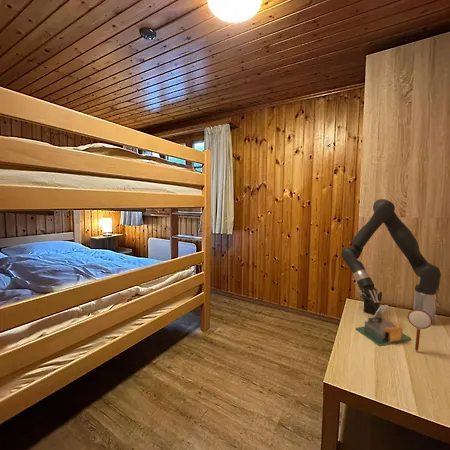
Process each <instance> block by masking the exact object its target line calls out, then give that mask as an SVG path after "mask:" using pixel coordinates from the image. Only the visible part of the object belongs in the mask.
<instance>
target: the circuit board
mask: <svg viewBox="0 0 450 450" xmlns="http://www.w3.org/2000/svg"><path fill="white" fill-rule="evenodd" d="M372 318H373V317H369V316H368V318H367V319H368V320H366V321H364V326H359V327H358V326H357V327H355V330H356V331H357V332H358V333H360V334H361V335H363V336H364V337H365V338H367V339H369V341H371V342H373V343H374V344H375V345H377V346H379V347H382V346H386V345H388V346H389V345H392V344H399V343H403V342H409V341H412V338H411V337H410V336H408V335H406V334H405V333H403V330H404V329H403V327H402V326H401V325H400V326H399V325H395V324H394V323H392V322H390V321H388V320H387V319H385V318H383V317H382V315H381V316H380V318H379V319H378V320H373V319H372Z"/></svg>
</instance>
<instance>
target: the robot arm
mask: <svg viewBox="0 0 450 450" xmlns="http://www.w3.org/2000/svg"><path fill="white" fill-rule="evenodd" d="M395 209H396V207H395V205H394V203H393V202H392V201H390V200H388V199H386V198H385V199H384V198H380V199H377V200H376V201H374V203H373V206H372V210H373V214H372V216H371V217H370V219H369V220H368V221H367V222H366V223H365V225H364V226H362V227H361V228H360V229H359V230H358V231H357V233H355V236H354V237H353V238H352V240H351V244H352V246H351V247H343V248H342V249H341V252H340V253H341V255H340V256H341V258H342V260H343V261H344V262H345V264H346V265H347V266H348V267H349V269H350V270H351V273H352V274H353V278H354V280H355V282H356V284H357V285H358V288H359V290H360V291H361V294H360V295H359V297H360V298H361V299H362V300H363V301H364V300H365V301H366V302H367V303H369V304H372V305H373V306H374V308H375V310H376V312H377V310H378V309H379V307H380V306H381V304H380V302H382V299H383V298H382V297H383V292H382V291H378V290H377V288H376V287H375V283H374V282H373V279H372V278H371V276H370V274H369V273H368V271H367V269H366V268H365V266H364V264H363V262H362V261H360V260H358V259H359V258H360V257H361V255H362V252H363V250H364V247H365V246H366V245H367V243H368V242H369V241H370V240H371V238H372V237H373V235H374V234H375V233H376V231H377V230H378V229H380V227H381V226H382V225H383V224H384V225H385V227H386V229H387V231H388V233H389V235H390V236H391V238H392V240H393V241H394V243H395V244H396V246H397V248H399V250H400V251H401V253H402V254H403V255H404V257H406V259H407V261H408V263H409V264H410V266H411V268H412V271H413V272H414V274H415V275H416V276H417V277H419V283H418V284H415V287H414V294H413V295H414V299H413V308H412V310H415V309H419V310H423V311H425V312H427V313H428V314H429V315H430V317H431V319H432V324H431V326H433V324H434V323H435V320H436V318H435V317H436V309H437V307H436V298H437V292H438V291H439V287H440V283H441V282H440V281H441V275H442V274H441V269H440V268H439V267H438V266H436V265H434V264H432V263H430V262H428V261H427V260H426V259H425V257H424V255H423V254H422V253H421V250H420V247H419V243H418V240H417V239H416V237H415V235H414V234H413V232H412V231H411V230H410V228H408V226H407V225H406V224H405V223H404V222H403V221H402V220H401V219H400V218H399V216H398V215H397V213H396V212H395ZM368 300H369V301H368ZM372 300H373V301H372ZM375 300H376V301H375Z"/></svg>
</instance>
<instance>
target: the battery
mask: <svg viewBox="0 0 450 450" xmlns="http://www.w3.org/2000/svg"><path fill="white" fill-rule="evenodd" d="M368 301H369V300H368ZM372 301H373V300H372ZM375 301H376V300H375ZM363 312H364V313H367V314H370V315H373V316H374V315H375V313H376V312H377V311H376V310H375V308H374V306H373V305H372V304H369V303H367V302H366V301H365V300H363Z"/></svg>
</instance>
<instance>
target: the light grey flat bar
mask: <svg viewBox="0 0 450 450" xmlns="http://www.w3.org/2000/svg"><path fill="white" fill-rule="evenodd" d="M388 307H389V305H388V304H384V305H383V304H382V305H380V307H379V309H378V310H377V311H376V313H375V315H374V314H373V316H372V317H371V318H372V319H373V320H378V319H379V318H380V316H381V317H382V315H383V313H384V312H385V311H386V309H387V308H388Z"/></svg>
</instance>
